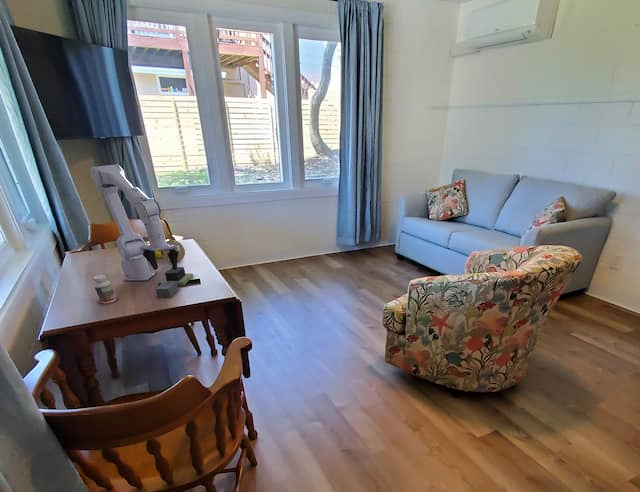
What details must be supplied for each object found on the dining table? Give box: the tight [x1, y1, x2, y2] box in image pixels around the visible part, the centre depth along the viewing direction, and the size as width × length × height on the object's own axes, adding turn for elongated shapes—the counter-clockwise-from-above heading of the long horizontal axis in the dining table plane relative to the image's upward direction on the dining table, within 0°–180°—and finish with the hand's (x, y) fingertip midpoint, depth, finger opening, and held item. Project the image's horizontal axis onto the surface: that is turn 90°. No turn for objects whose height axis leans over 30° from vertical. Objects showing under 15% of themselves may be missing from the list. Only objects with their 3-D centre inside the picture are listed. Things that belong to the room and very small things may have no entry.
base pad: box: [158, 272, 194, 287], centre depth 167 cm, size 10×10×1 cm
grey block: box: [155, 282, 179, 298], centre depth 155 cm, size 5×7×3 cm
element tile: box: [145, 239, 168, 259], centre depth 197 cm, size 15×15×5 cm
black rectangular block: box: [164, 266, 186, 281], centre depth 166 cm, size 5×7×3 cm
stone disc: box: [161, 239, 186, 263], centre depth 185 cm, size 10×4×10 cm, turn 119°
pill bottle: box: [92, 274, 117, 304], centre depth 148 cm, size 5×5×10 cm
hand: (165, 269), depth 155 cm, fingers open, 7 cm apart
